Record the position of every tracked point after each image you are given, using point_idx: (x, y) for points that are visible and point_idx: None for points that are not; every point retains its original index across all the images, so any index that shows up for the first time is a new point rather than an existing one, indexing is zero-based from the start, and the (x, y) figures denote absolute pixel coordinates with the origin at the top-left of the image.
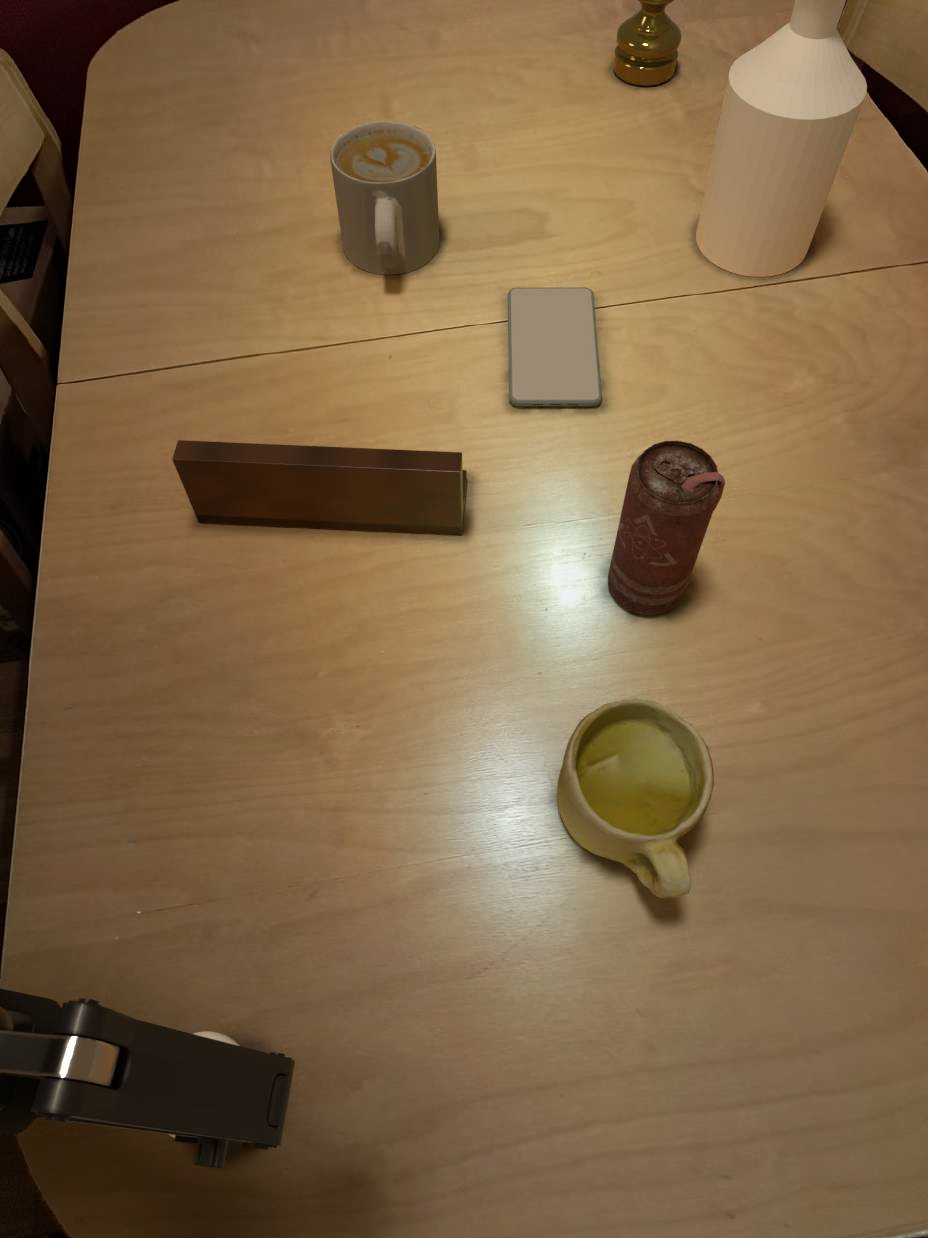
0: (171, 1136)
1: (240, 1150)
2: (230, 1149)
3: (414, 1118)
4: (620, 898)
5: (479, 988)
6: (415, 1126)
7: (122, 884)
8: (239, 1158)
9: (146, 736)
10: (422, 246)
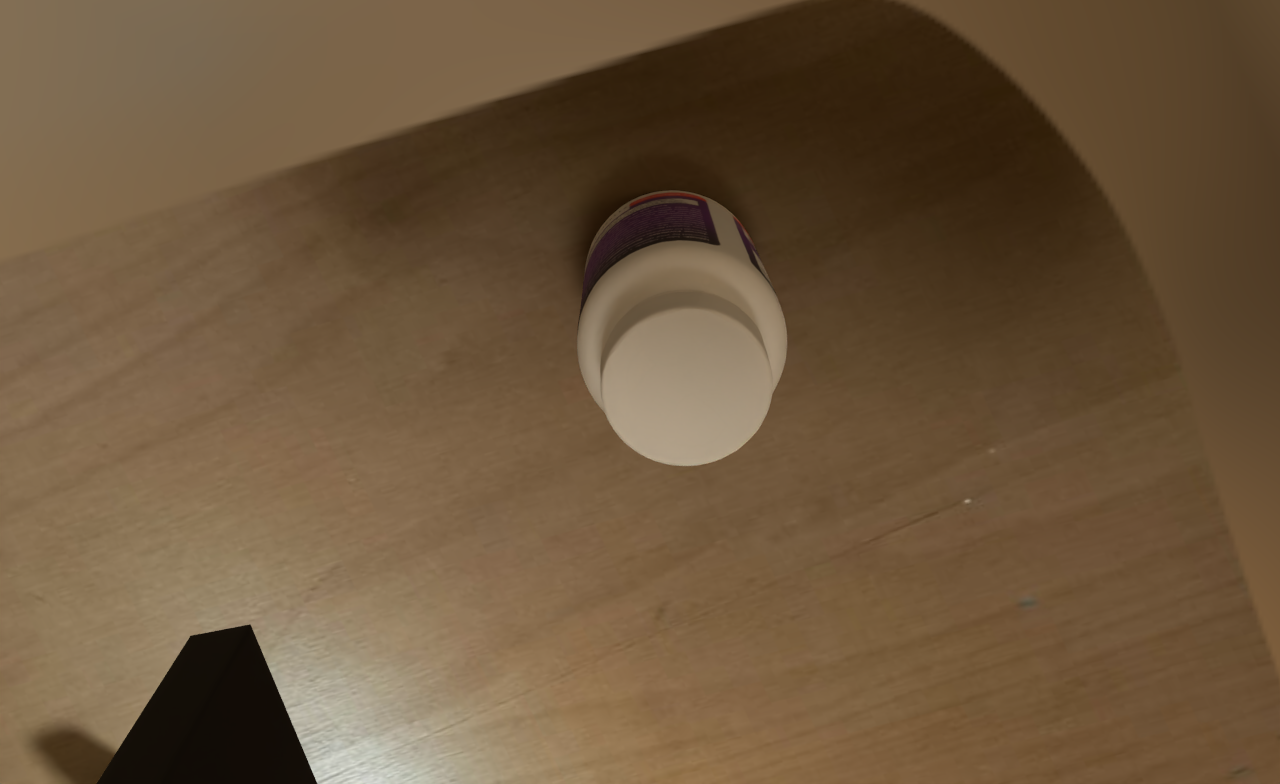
0: (698, 246)
1: (182, 649)
2: (150, 712)
3: (330, 339)
4: None
5: (311, 557)
6: (323, 328)
7: (1018, 534)
8: (609, 184)
9: (1072, 764)
10: None
